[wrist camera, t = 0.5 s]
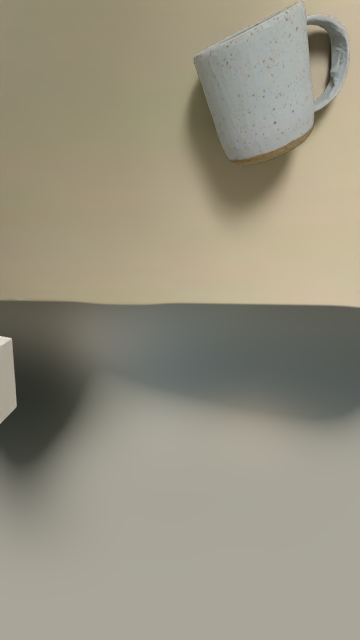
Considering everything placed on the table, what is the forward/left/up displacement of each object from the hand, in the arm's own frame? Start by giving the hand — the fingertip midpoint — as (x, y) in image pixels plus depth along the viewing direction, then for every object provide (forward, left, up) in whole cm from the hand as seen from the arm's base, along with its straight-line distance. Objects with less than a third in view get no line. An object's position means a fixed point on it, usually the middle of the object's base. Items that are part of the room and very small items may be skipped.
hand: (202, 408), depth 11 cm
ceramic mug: (-8, -2, -28) cm, 29 cm away
